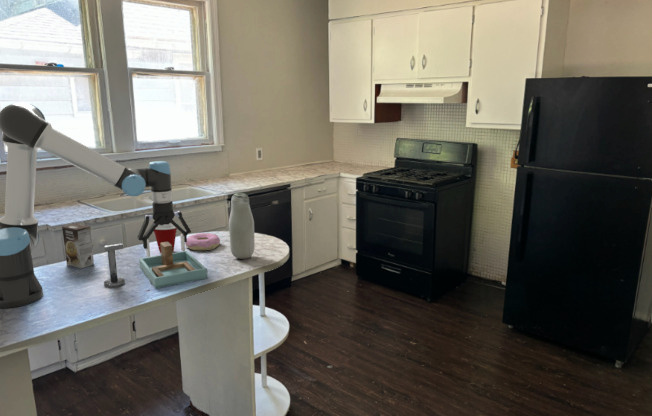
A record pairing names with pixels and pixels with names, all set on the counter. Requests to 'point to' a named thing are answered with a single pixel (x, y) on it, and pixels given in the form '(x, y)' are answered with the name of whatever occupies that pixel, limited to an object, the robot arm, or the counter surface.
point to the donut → (202, 241)
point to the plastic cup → (165, 234)
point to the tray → (173, 270)
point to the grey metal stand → (113, 267)
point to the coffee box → (78, 245)
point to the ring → (169, 261)
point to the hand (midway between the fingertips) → (166, 253)
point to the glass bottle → (241, 227)
